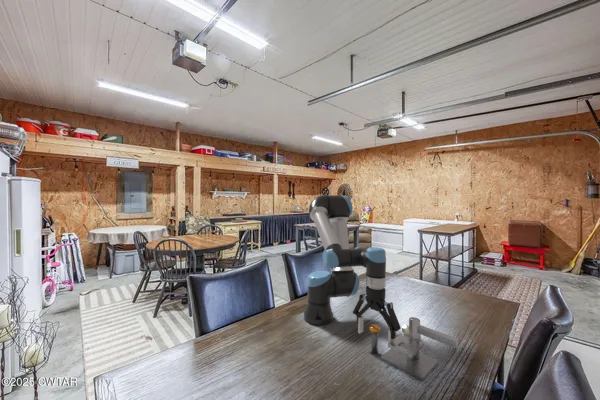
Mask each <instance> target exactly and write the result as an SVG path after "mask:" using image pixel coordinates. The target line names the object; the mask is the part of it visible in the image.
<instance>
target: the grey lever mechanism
mask: <svg viewBox="0 0 600 400" xmlns="http://www.w3.org/2000/svg"><path fill="white" fill-rule="evenodd" d="M408 326H409V338H408V337H406V336H404V334H399V335H398V336H396V337H395V339H393V341H391V342H390V343H389V344H388V343H387V348H389V349H388V350H387V351H386V352H384V353H383V354H382V355H381V356H380V360H382V361H383V362H385V363H387V364H389V365H391V366H393V367H395V368H396V369H399V370H400V371H402V372H404V373H406V374H408V375H409V376H412V377H414V378H415V379H418V380H419V381H420V382H424V381H425V380H426V379H427V377H429V375H430V374H431V373H432V372H433V371H434V369H436V367H437V366H438V365H439V360H437V359H435V358H432V357H430V356H427V355H425V354H423V353H422V352H420V351H422V350H423V349H424V348H425V347H424V346H425V344H424V343H422V342H421V339H420V334H421V336H424V337H426V338H429V339H430V340H434V341H437V342H439V343H441V344H444V345H447V346H449V347H452V348H454V349H457V348H458V347H459V338H457V337H454V336H452V335H449V334H446V333H443V332H440V331H438V330H436V329H433V328H430V327H427V326H425V325H422V324H421V319H419V318H418V317H414V316H412V317H409V318H408Z"/></svg>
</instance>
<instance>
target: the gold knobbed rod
mask: <svg viewBox="0 0 600 400" xmlns="http://www.w3.org/2000/svg"><path fill="white" fill-rule="evenodd" d="M368 330H369V331H370V332H371V346H370V348H371V349H370V351H371V354H373V355H378V349H379V348H378V347H379V346H378V344H379V343H378V341H379V340H378V339H379V334H380V333H381V326H380V325H378V324H375V323H374V324H369V329H368Z"/></svg>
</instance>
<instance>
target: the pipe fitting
mask: <svg viewBox="0 0 600 400" xmlns="http://www.w3.org/2000/svg"><path fill="white" fill-rule="evenodd" d="M401 332H402V333H403V336H406V337H408V338H409V324H408V325H407V324H404V325H402V327H401ZM421 338H422V335H421V334H420V340H421Z"/></svg>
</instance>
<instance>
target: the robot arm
mask: <svg viewBox="0 0 600 400" xmlns="http://www.w3.org/2000/svg"><path fill="white" fill-rule="evenodd" d="M308 214H309V217H310V220H312V221H313V222H314V225H315V228H316V231H317V234H318V236H319V237H320V242H321V243H322V246H323V248H324V249H323V252H322V263H323V265H324V267H325V268H328V269H329V268H331V272H330V271H327V270H317V271H313V272H311V273H310V274H308V276H307V303H306V306H305V308H304V309H305V310H304V313H303V320H304V321H306V323H308V324H311V325H315V326H326V325H329V324H330V323H332V322H333V321H334V312H333V311H332V310H333V309H332V306H331V299H332V298H340V297H346V298H347V297H348V298H349V297H352V296H355V295H356V294H357V293H358V291H359V289H360V279H359V278H360V277H359V275H358V273H357V272H355V269H354V267H363V268H365V271H366V273H365V276H366V277H365V278H366V279H365V280H366V281H365V282H366V283H365V284H366V286H365V293H361V294H359V298H358V301H357V303H356V305H355V306H354V309H353V310H352V314H353V315H356V324H357V333H358V334H359V335H360V334H362V333H363V332H364V316H363V315H364V314H365V313H366V311H368V310H369V309H370V310H373V311H375V312H378V314H380V315H381V316H382V319H383V320H384V321H385V323H386V325H387V326H388V328H389V329H388V330H387V331H388V336H387V345H388V344H389V343H390V342H391V341H393V340H394V339H395V338H397V336H396V332H399V331H400V330H402V327H401V325H400V322H399V320H398V317H397V315H396V313H395V312H396V311H395V310H394V304H393V302H386V279H387V276H386V274H387V272H386V267H387V257H386V255H387V254H386V250H385V249H384V248H382V247H377V246H376V247H375V246H372V247H368V248H365V247H362V246H356V247H355V248H350V243H349V231H348V221H349V220H350V217H351V215H352V214H353V203H352V201H351V199H350V197H348V196H347V195H341V194H339V195H335V194H333V195H331V194H330V195H325V194H322V195H318V196H316V197H315V198H313V200H312V201H311V202H310V204H309V207H308ZM364 301H366V304H365V305H364V306H363V304H364ZM362 306H363V307H362Z"/></svg>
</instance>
